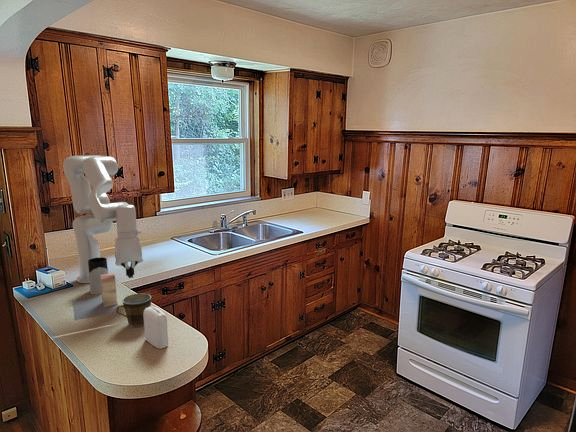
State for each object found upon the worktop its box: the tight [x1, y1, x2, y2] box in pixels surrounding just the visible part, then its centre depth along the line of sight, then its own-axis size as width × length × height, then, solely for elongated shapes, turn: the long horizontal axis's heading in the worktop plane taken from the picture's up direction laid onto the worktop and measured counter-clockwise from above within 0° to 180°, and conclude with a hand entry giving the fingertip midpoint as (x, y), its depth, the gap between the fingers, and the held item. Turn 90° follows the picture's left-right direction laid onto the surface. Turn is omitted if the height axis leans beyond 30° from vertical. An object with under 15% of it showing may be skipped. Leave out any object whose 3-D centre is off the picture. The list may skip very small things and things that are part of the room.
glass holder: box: [88, 256, 109, 295], centre depth 174 cm, size 9×14×15 cm, turn 33°
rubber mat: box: [72, 295, 121, 321], centre depth 157 cm, size 20×16×1 cm
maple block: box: [100, 272, 118, 307], centre depth 158 cm, size 5×5×12 cm
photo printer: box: [143, 306, 169, 350], centre depth 129 cm, size 10×4×12 cm, turn 47°
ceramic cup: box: [115, 292, 152, 329], centre depth 141 cm, size 13×10×10 cm
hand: (130, 276), depth 162 cm, fingers closed
